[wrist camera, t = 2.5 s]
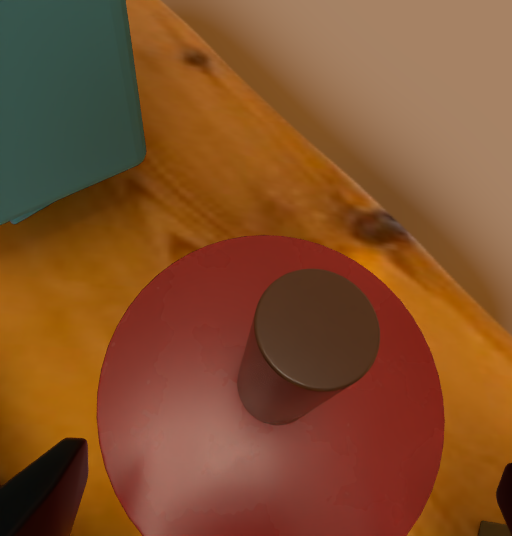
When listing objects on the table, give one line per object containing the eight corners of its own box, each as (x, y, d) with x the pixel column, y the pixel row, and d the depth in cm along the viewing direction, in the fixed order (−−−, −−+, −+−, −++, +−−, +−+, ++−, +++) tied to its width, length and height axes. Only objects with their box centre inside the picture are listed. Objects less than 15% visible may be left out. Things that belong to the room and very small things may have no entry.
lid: (489, 408, 15) (691, 360, 9) (257, 697, 11) (320, 998, 5) (280, 204, 18) (317, 58, 12) (39, 370, 14) (-100, 285, 8)
